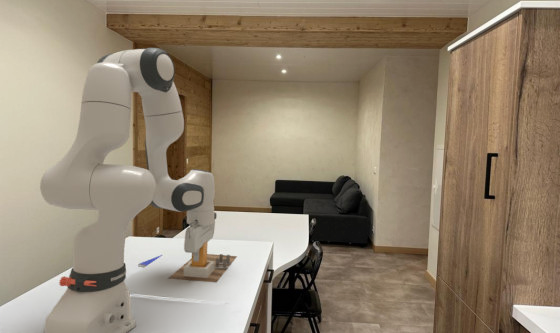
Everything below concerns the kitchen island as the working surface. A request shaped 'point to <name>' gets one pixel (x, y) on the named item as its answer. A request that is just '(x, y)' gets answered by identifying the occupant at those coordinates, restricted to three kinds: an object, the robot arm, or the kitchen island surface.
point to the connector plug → (201, 257)
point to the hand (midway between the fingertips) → (199, 258)
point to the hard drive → (148, 262)
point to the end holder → (199, 270)
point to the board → (220, 267)
